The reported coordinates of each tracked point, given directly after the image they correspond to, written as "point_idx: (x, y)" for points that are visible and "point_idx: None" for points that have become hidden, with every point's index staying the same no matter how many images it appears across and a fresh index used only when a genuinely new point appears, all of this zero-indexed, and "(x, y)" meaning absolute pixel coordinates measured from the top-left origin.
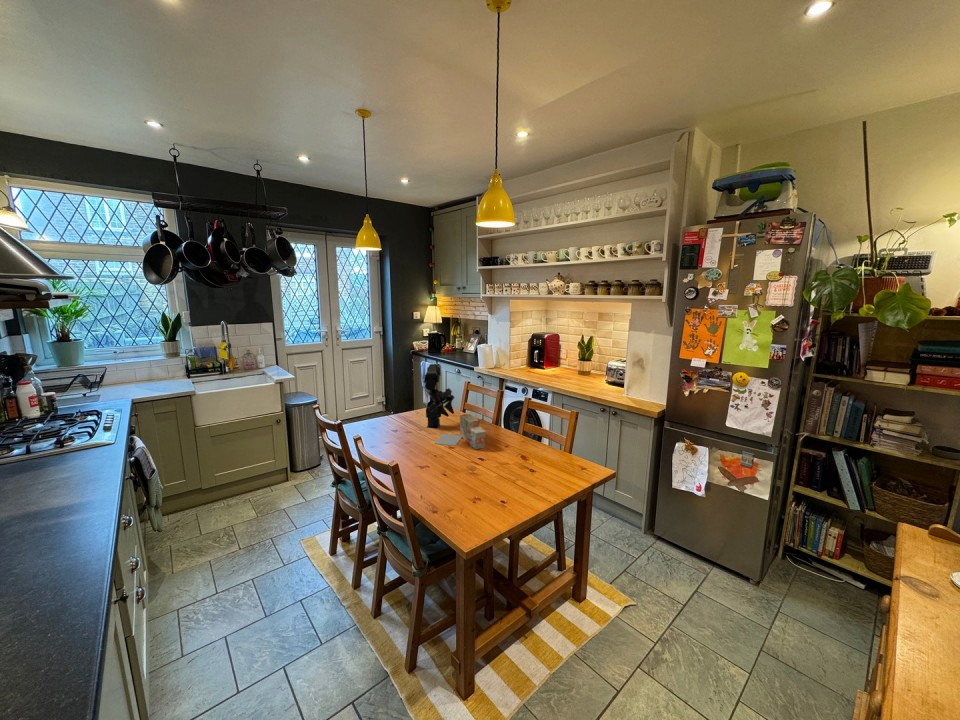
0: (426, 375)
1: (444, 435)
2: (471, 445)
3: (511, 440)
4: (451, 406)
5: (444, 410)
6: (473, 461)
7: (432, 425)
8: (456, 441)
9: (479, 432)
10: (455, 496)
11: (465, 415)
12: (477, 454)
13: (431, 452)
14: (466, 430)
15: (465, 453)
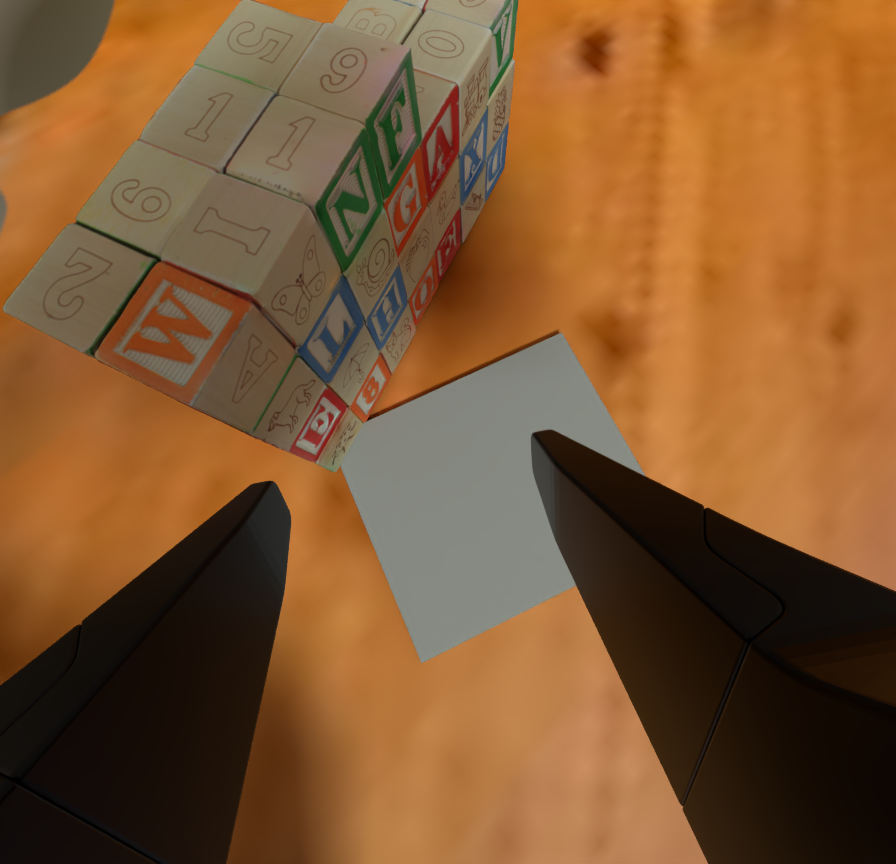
0: None
1: (448, 609)
2: (476, 216)
3: (168, 86)
4: (56, 669)
5: (730, 522)
6: (665, 64)
7: None
8: (486, 388)
9: None
10: None
11: (139, 307)
12: (555, 111)
13: (828, 403)
14: (397, 255)
15: (609, 181)
